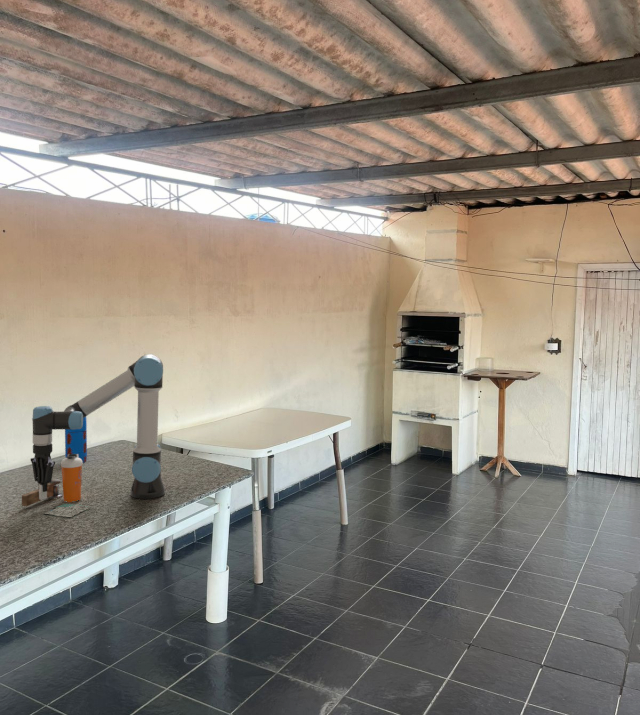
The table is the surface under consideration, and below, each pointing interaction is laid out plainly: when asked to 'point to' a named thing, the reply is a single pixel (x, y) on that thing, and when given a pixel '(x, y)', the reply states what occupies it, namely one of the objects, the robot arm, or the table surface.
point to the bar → (34, 495)
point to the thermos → (77, 442)
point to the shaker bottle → (71, 477)
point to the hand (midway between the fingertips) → (43, 498)
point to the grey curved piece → (56, 492)
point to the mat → (66, 505)
